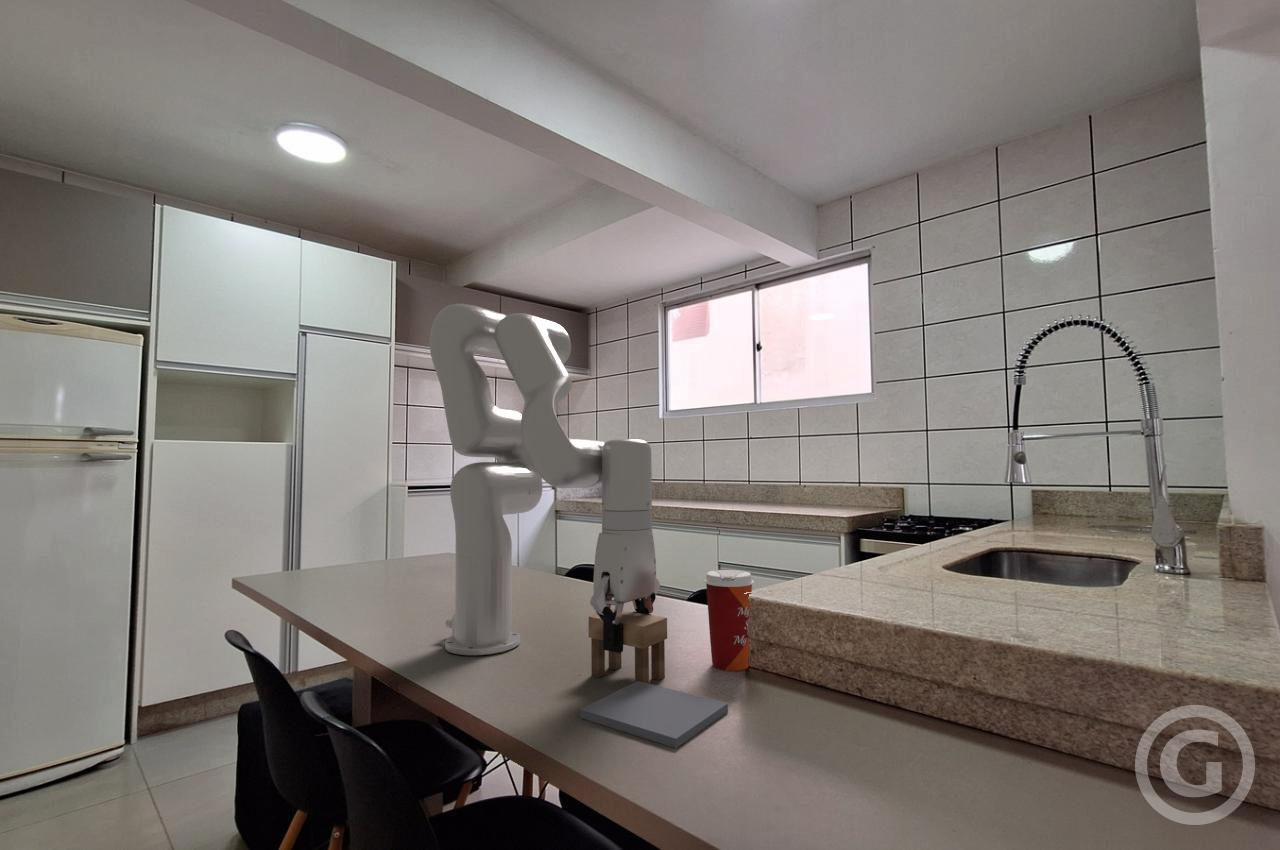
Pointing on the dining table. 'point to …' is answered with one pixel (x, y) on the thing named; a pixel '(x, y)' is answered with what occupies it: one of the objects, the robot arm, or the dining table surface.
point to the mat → (655, 712)
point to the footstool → (632, 644)
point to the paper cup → (729, 618)
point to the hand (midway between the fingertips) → (627, 644)
